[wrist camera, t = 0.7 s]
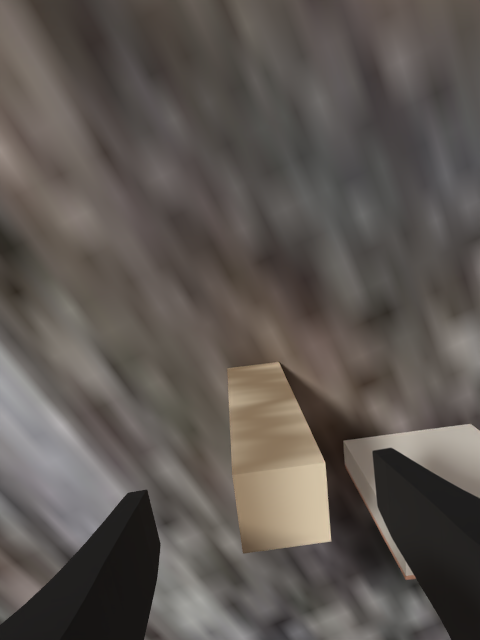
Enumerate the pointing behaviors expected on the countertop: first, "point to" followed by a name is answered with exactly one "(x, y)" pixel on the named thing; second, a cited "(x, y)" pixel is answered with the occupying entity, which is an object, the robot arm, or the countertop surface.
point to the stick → (274, 463)
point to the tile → (425, 449)
